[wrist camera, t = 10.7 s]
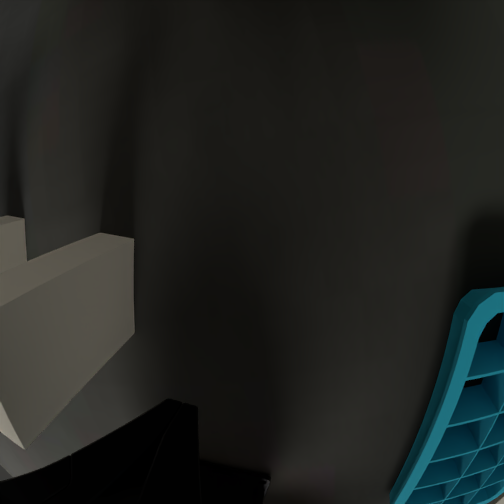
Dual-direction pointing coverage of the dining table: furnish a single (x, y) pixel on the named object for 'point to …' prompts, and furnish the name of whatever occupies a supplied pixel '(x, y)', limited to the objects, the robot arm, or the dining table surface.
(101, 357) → the domino
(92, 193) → the dining table surface
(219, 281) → the dining table surface
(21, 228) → the domino
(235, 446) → the dining table surface
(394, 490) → the ice cube tray
